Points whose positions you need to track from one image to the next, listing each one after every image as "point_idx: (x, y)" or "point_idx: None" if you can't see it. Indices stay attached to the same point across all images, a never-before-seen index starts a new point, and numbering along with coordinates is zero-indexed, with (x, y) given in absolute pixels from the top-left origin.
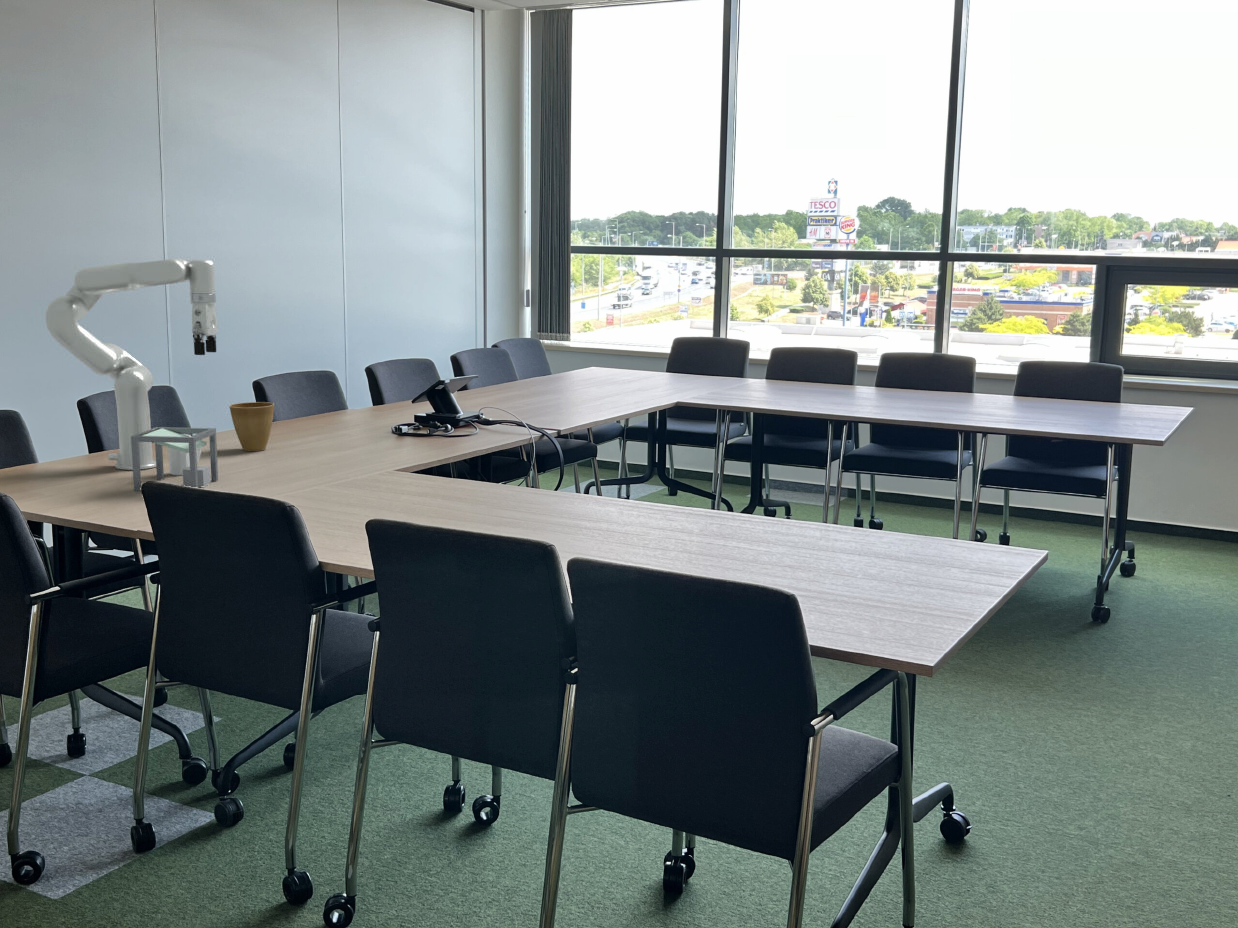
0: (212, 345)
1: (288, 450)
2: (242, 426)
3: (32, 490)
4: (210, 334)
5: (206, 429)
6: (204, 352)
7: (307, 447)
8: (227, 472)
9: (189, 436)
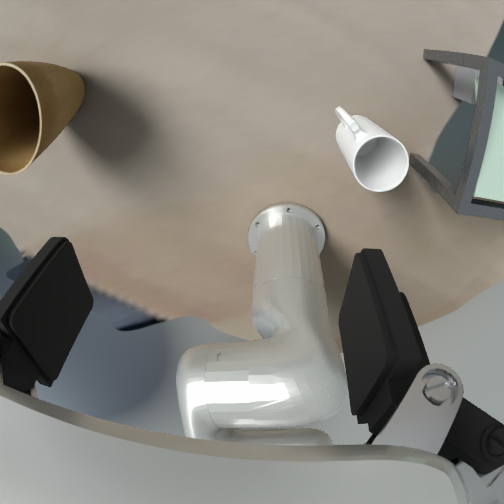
0: (46, 300)
1: (61, 25)
2: (66, 108)
3: (450, 297)
4: (312, 467)
5: (496, 81)
6: (386, 261)
7: (31, 13)
8: (339, 42)
9: (387, 135)
